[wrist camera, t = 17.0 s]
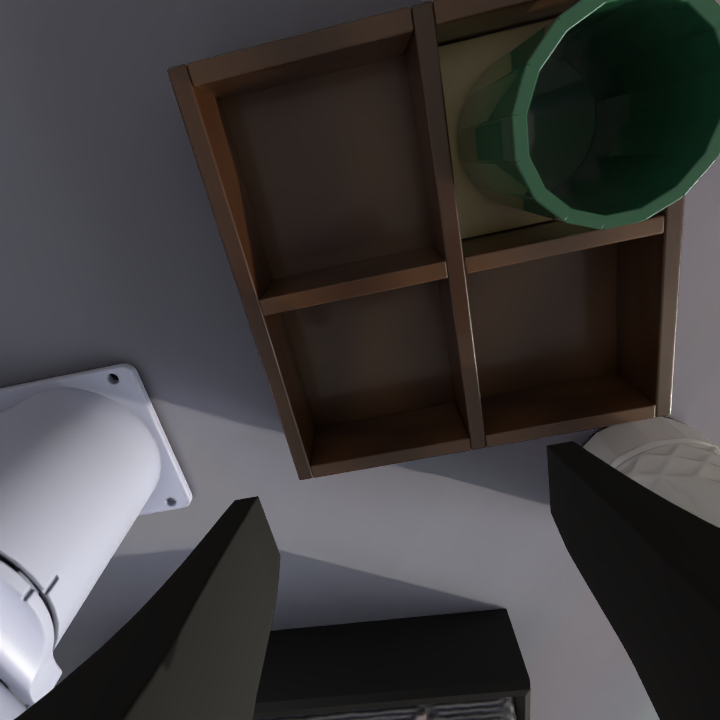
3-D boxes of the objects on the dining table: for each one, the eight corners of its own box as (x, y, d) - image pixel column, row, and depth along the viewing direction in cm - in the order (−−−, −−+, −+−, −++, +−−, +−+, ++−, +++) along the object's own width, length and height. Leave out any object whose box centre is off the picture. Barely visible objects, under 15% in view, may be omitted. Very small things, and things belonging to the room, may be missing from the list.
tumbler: (465, 218, 17) (521, 247, 11) (447, 67, 15) (503, 8, 10) (599, 189, 17) (729, 203, 11) (598, 31, 15) (755, -56, 9)
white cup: (633, 374, 21) (847, 539, 12) (748, 450, 23) (1017, 648, 13) (521, 492, 24) (625, 703, 14) (632, 553, 25) (789, 777, 16)
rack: (308, 433, 22) (299, 481, 19) (204, 87, 16) (165, 68, 13) (622, 375, 21) (671, 415, 18) (628, -19, 15) (703, -70, 12)
